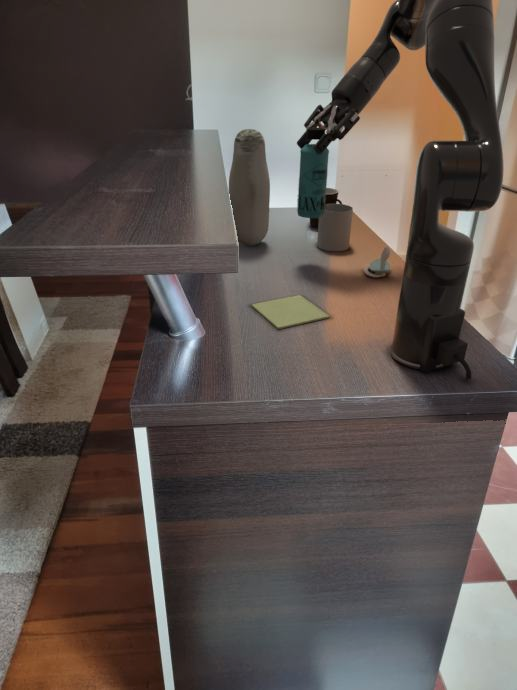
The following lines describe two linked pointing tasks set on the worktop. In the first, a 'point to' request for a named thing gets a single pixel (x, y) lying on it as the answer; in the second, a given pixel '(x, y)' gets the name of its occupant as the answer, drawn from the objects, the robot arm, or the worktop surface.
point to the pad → (289, 311)
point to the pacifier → (379, 265)
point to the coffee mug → (330, 199)
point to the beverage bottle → (312, 178)
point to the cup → (335, 227)
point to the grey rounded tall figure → (250, 187)
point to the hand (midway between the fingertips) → (308, 148)
